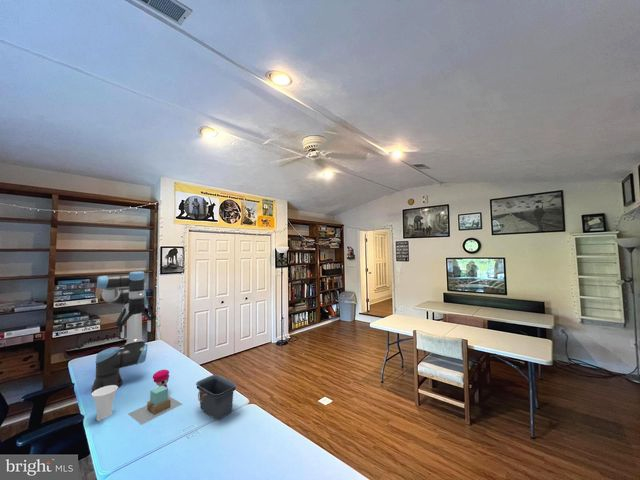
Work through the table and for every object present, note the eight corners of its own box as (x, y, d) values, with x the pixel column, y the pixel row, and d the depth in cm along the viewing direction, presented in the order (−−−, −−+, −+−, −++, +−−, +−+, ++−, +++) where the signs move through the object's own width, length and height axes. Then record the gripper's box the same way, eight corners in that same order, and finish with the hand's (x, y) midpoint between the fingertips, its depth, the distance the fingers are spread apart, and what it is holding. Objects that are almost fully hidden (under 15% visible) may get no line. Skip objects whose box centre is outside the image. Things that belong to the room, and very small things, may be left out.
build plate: (127, 415, 134) (127, 413, 134) (168, 397, 150) (168, 395, 150) (141, 426, 125) (141, 424, 125) (182, 405, 141) (182, 404, 141)
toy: (161, 401, 146) (161, 374, 146) (148, 400, 147) (149, 373, 148) (172, 393, 154) (172, 368, 155) (160, 392, 156) (161, 367, 156)
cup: (87, 426, 126) (88, 398, 126) (94, 414, 135) (95, 388, 136) (114, 419, 131) (115, 392, 131) (119, 408, 140) (119, 383, 140)
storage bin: (239, 411, 135) (239, 383, 136) (212, 428, 123) (212, 397, 123) (216, 398, 148) (216, 373, 148) (189, 412, 135) (189, 384, 136)
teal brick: (150, 401, 137) (150, 390, 137) (162, 396, 142) (162, 385, 142) (155, 405, 134) (155, 393, 134) (167, 399, 139) (167, 388, 139)
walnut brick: (147, 409, 137) (147, 402, 137) (163, 402, 143) (163, 395, 143) (154, 414, 132) (154, 406, 132) (170, 406, 139) (170, 399, 139)
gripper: (113, 302, 140) (112, 341, 139) (162, 295, 160) (161, 329, 159) (108, 300, 144) (107, 339, 143) (156, 294, 165) (156, 328, 164)
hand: (136, 334), depth 151 cm, fingers open, 13 cm apart
